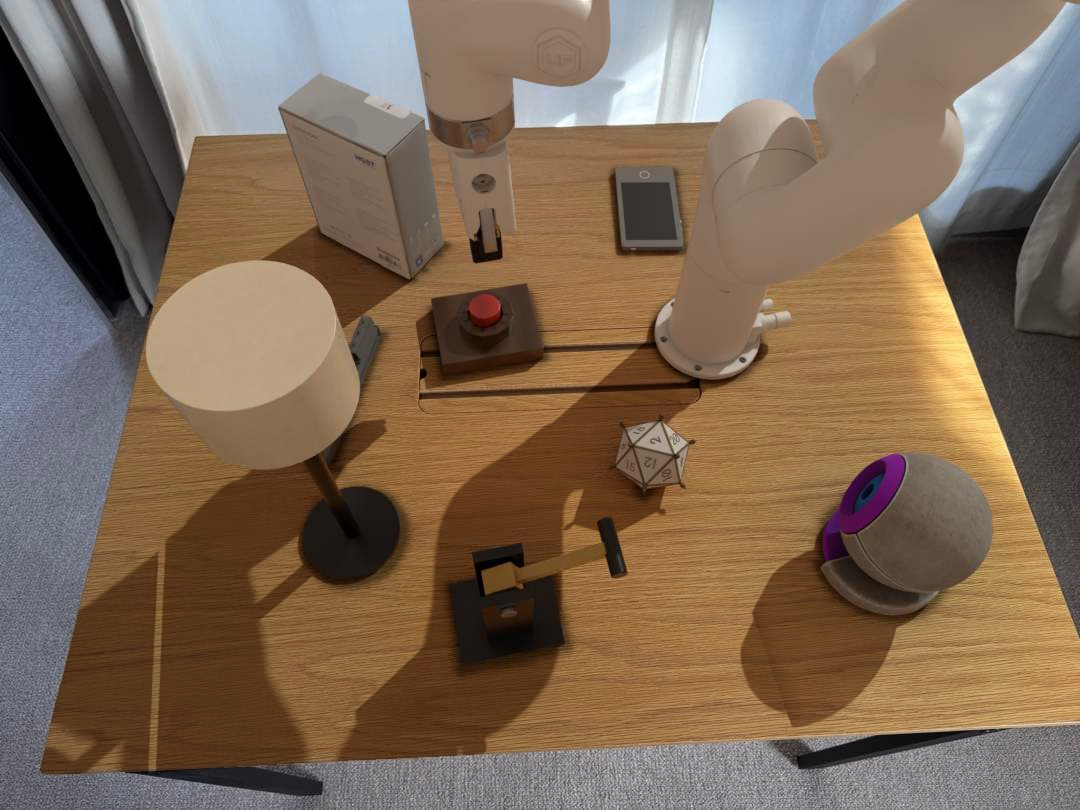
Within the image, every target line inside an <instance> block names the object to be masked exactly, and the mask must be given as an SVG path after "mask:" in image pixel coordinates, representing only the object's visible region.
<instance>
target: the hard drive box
mask: <svg viewBox="0 0 1080 810" xmlns="http://www.w3.org/2000/svg"><path fill="white" fill-rule="evenodd" d="M277 108H278V109H277V110H278V112H279V115H280V117H281V121H282V124H283V127H284V129H285V132H286V135H287V138H288V141H289V144H290V147H291V151H292V154H293V155H294V158H295V161H296V164H297V167H298V170H299V173H300V176H301V179H302V182H303V186H304V187H305V191H306V194H307V196H308V199H309V202H310V206H311V208H312V211H313V214H314V218H315V219H316V223H317V226H318V228H319V231H320V233H321V234H323V235H325V236H327V237H328V238H330V239H331V240H333V241H335V242H337V243H339V244H341V245H342V246H344V247H347V248H349V249H351V250H352V251H355V252H357V253H358V254H360V255H362V256H363V257H366V258H368V259H369V260H372V261H373V262H375V263H377V264H379V265H381V266H382V267H384V268H386V269H387V270H389V271H391V272H394V273H395V274H397V275H399V276H402V277H403V278H405V279H407V280H411V279H413V278H414V277H415V276H416V275H417V274H418V273H419V272H420V271H421V270H422V269H423V268H424V267H425V266H426V264H427V263H428V262H429V261H430V260H431V259H432V258H433V257H434V256H435V255H436V254H437V253H438V252H439V251H440V249H441V248H442V247H443V246H444V245H445V242H444V235H443V229H442V223H441V217H440V216H441V215H440V210H439V204H438V203H439V202H438V198H437V197H438V196H437V191H436V184H435V178H434V172H433V166H432V165H433V164H432V159H431V152H430V146H429V140H428V133H427V126H426V117H424V116H423V115H419V114H417V113H415V112H413V111H411V110H408V109H406V108H403V107H402V106H399V105H397V104H394V103H392V102H390V101H388V100H386V99H383V98H380V97H378V96H376V95H374V94H371V93H369V92H366V91H364V90H362V89H359V88H357V87H355V86H352V85H350V84H348V83H345V82H343V81H340V80H338V79H336V78H334V77H331V76H329V75H328V74H325V73H322V72H319V73H318V74H316V75H315V76H314V77H313V78H311V79H310V80H309V81H308V82H306V83H305V84H304V85H302V87H300V88H299V89H298V90H297V91H295V92H294V93H292V94H291V95H290V96H289V97H288V98H286V99H285V100H284V101H283V102H281V103H280V104H279V105H278V106H277Z"/></svg>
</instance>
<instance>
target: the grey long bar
mask: <svg viewBox="0 0 1080 810" xmlns="http://www.w3.org/2000/svg"><path fill="white" fill-rule="evenodd" d="M381 337H382V333H381V330H380V327H379V325H377V324H376V323H375V321H374V320H373V318H372V317H371V316H368V315H361V316H360V318H359V320H358V323H357V326H356V328H355V331H354V333H353V335H352V338H351V340H350V343H349V344H348V346H349V349H350V352H351V355H352V357H353V360H354V363H355V366H356V369H357V371H358V375H359V380H360V388H361V387H362V384H363V382H364V380H365V378H366V374H367V372H368V369H369V366H370V364H371V361H372V359H373V356H374V354H375V351H376V349H377V346H378V343H379V341H380V338H381ZM344 432H345V430H344V431H343V432H342V434H341V435H340V436H339V437H338V438H337V439H336V440H335V441H334V442H333V443H332V444H330V445H329V446H328V447H327V448H325V449H324V450H323V451H321V452H320V453H321V455H322V457H323V459H324V461H325V463H326V465H327V467H329V465H330V464H332V462H333V460H334V457H335V455H336V452H337V449H338V447H339V444H340V442H341V439H342V436H343V434H344Z"/></svg>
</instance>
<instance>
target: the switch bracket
mask: <svg viewBox="0 0 1080 810" xmlns="http://www.w3.org/2000/svg"><path fill="white" fill-rule="evenodd" d="M471 556H472V557H471V558H472V563H473V568H474V572H475V577H476V578H475V579H469V580H465V581H459V582H454V583H450V584H449V590H450V595H451V596H450V597H451V602H452V609H453V615H454V623H455V628H456V634H457V641H458V647H459V655H460V661H461V665H462V666H467V665H474V664H477V663H478V664H479V663H482V662H487V661H491V660H496V659H501V658H506V657H511V656H516V655H519V654H524V653H529V652H534V651H539V650H543V649H549V648H552V647H557V646H561V645H566V641H565V640H566V638H565V635H564V630H563V626H562V622H561V618H560V613H559V608H558V603H557V599H556V595H555V591H554V585H553V581H552V577H551V576H552V575H548V576H545V577H542V578H538V579H535V580H532V581H529V582H526V583H523V588H522V589H518V590H513V591H508V592H503V593H498V594H493V595H488V596H486V595H485V590H484V584H483V578H482V573H481V571H482V570H486V569H489V568H492V567H495V566H498V565H502V564H505V563H508V562H512V563H513V564H514V565H516V566H517V567H518V568H521V567H525V551H524V547H523V543H522V542H517V543H511V544H506V545H503V546H502V545H497V546H494V547H493V546H492V547H491V548H486V549H482V550H477V551H472V552H471Z"/></svg>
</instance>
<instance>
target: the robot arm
mask: <svg viewBox="0 0 1080 810" xmlns="http://www.w3.org/2000/svg"><path fill="white" fill-rule="evenodd" d="M1067 3H1069V4H1073V5H1080V0H904V1H901V3H900V4H898V5H897V6H895V7H894V8H893V9H891V10H890V11H889V12H887V13H886V14H884V15H882V17H880V18H878V20H876V21H875V22H874V23H872V24H871V25H870V26H868V27H867V28H866V29H864V30H863V31H861V32H860V33H858V35H856V36H854V38H852V39H850V40H849V41H848V42H847V43H846V44H844V45H843V46H842V47H840V48H839V49H838V50H837V51H836V52H834V53H833V54H832V55H831V56H829V58H828V59H826V61H825V62H823V64H822V65H821V66H820V68H819V69H818V71H817V73H816V76H815V78H814V81H813V87H812V101H813V103H812V104H813V109H814V114H815V115H814V116H815V120H816V123H817V128H818V131H819V135H820V136H819V137H820V139H821V144H822V148H823V152H824V158H822V159H821V160H820V159H819V155H818V150H817V147H816V142H815V141H814V140H815V139H814V137H813V134H812V131H811V130H810V126H808V123H807V122H806V120H805V119H804V117H803V116H802V115H801V113H799V111H798V110H797V109H795V108H794V107H793V106H792V105H790V104H788V103H787V102H784V101H782V100H779V99H774V98H767V97H766V98H755V99H751V100H748V101H745V102H743V103H741V104H739V105H737V106H735V107H734V108H732V109H731V110H729V111H728V112H727V113H726V114H725V115H724V116H723V117H722V118H721V119H720V121H718V123H716V124H717V125H716V126H715V128H714V129H713V131H712V133H711V134H710V137H709V139H708V142H707V143H706V146H705V151H704V156H703V160H702V166H701V173H700V174H701V175H700V184H699V191H698V198H697V205H696V210H695V211H696V212H695V214H694V221H693V224H692V228H691V233H690V236H689V239H688V244H687V249H686V252H685V256H684V260H683V264H682V268H681V272H680V276H679V279H678V285H677V288H676V292H675V296H674V297H673V298H672V299H671V300H670V301H668V302H666V304H665V305H664V306H663V307H662V308H661V310H660V311H659V312H658V314H657V318H656V321H655V325H654V333H653V334H654V341H655V345H656V347H657V350H658V351H659V353H660V355H661V356H662V357H663V359H664V360H665V361H666V362H667V363H668V364H669V365H670V366H672V367H673V368H674V369H676V370H678V371H680V372H681V373H682V374H685V375H687V376H690V377H693V378H696V379H701V380H710V381H711V380H712V381H713V380H714V381H715V380H723V379H727V378H732V377H734V376H736V375H738V374H740V373H743V371H745V370H746V369H747V368H748V367H749V366H750V365H751V364H752V362H753V361H754V359H755V357H756V356H757V354H758V351H759V349H760V344H761V335H762V334H766V333H767V330H768V331H769V330H773V329H774V330H778V329H782V328H783V329H784V328H789V327H791V325H792V315H791V313H790V312H789V310H784V311H778V312H772V313H771V314H764V313H763V312H767V311H772V310H773V309H774V302H773V299H772V298H766V296H767V294H768V292H769V289H770V286H772V285H778V284H782V283H783V284H784V283H786V282H790V281H793V280H796V279H799V278H801V277H803V276H806V275H808V274H811V273H812V272H814V271H815V270H818V269H819V268H821V267H823V266H825V265H827V264H829V263H831V262H833V261H835V260H836V259H838V258H840V257H842V256H844V255H845V254H847V253H849V252H851V251H853V250H855V249H857V248H859V247H860V246H862V245H864V244H866V243H868V242H870V241H871V240H873V239H875V238H877V237H879V236H880V235H882V234H884V233H886V232H888V231H890V230H891V229H893V228H895V227H897V226H898V225H900V224H902V223H904V222H907V220H909V219H911V218H913V217H914V216H916V215H917V214H919V213H920V212H922V211H924V210H925V209H927V208H928V207H930V206H931V205H932V204H933V203H934V202H935V201H936V200H938V198H940V197H941V195H943V193H944V192H945V191H946V190H947V189H948V188H949V186H950V185H951V184H952V183H953V181H954V180H955V178H956V177H957V174H958V173H959V171H960V169H961V167H962V164H963V160H964V155H965V138H964V137H965V136H964V132H963V128H962V125H961V122H960V121H961V120H959V117H958V114H957V111H956V109H955V106H954V102H955V101H956V100H958V98H960V97H961V96H962V95H964V94H965V93H966V92H967V91H969V90H970V89H972V88H974V87H975V86H976V85H978V84H980V83H981V82H982V81H984V80H985V79H986V78H988V77H989V76H991V75H992V74H993V73H995V72H997V71H998V70H999V69H1000V68H1002V67H1004V66H1005V65H1007V63H1009V62H1011V61H1013V60H1014V59H1015V58H1017V57H1018V56H1020V54H1022V53H1023V52H1025V51H1026V50H1027V49H1028V48H1029V47H1030V46H1032V45H1033V44H1034V42H1036V41H1037V40H1038V39H1039V38H1040V37H1041V36H1042V35H1043V33H1044V32H1045V31H1046V30H1047V29H1048V28H1049V27H1050V25H1051V24H1052V23H1053V22H1054V21H1055V20H1056V18H1057V17H1058V15H1059V14H1060V13H1061V12H1062V11H1063V9H1064V8H1065V6H1066V4H1067ZM407 4H408V10H409V17H410V22H411V28H412V33H413V34H412V35H413V41H414V46H415V52H416V57H417V65H418V70H419V75H420V81H421V86H422V87H421V88H422V92H423V93H422V94H423V98H424V104H425V111H426V116H427V121H428V129H429V132H430V136H431V137H432V139H433V141H434V142H436V144H437V145H439V146H440V147H442V148H444V149H446V153H447V158H448V159H447V160H448V163H449V170H450V175H451V180H452V184H453V188H454V193H455V196H456V197H455V198H456V201H457V204H458V209H459V211H460V215H461V219H462V223H463V225H464V229H465V232H466V235H467V237H468V241H469V248H470V254H471V258H472V262H473V264H482V263H487V262H494V261H499V260H502V259H503V258H504V253H503V240H502V233H503V234H504V235H505V236H508V235H513V234H514V233H516V231H517V230H518V229H517V220H516V211H515V201H514V199H515V198H514V191H513V178H512V171H511V170H512V169H511V162H510V155H509V149H508V148H509V147H508V142H507V141H508V140H509V139H510V137H511V136H512V135H513V133H514V132H515V127H516V115H515V95H514V79H516V80H521V81H525V82H528V83H533V84H538V85H542V86H549V87H557V88H558V87H559V88H565V87H575V86H579V85H582V84H584V83H586V82H588V81H590V80H591V79H593V78H594V77H595V76H596V75H597V74H599V72H601V70H602V69H603V67H604V65H605V63H606V61H607V60H608V56H609V54H610V47H611V39H612V38H611V37H612V35H611V34H612V33H611V28H612V27H611V12H610V11H611V10H610V0H407ZM501 231H502V232H501Z"/></svg>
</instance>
